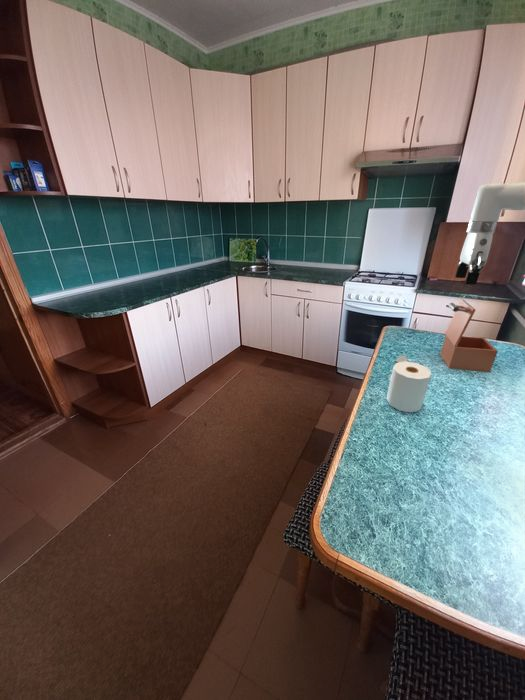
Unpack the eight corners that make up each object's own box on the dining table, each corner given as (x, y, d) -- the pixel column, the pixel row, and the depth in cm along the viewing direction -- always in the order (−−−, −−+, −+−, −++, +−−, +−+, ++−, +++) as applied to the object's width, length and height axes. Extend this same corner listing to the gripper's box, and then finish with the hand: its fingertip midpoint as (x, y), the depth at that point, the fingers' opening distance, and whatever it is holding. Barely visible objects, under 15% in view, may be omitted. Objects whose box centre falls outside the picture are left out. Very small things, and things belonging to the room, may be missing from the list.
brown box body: (477, 357, 117) (484, 337, 113) (489, 372, 107) (498, 350, 103) (439, 354, 120) (445, 334, 116) (448, 368, 110) (455, 347, 106)
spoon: (409, 360, 116) (409, 356, 115) (396, 383, 101) (397, 379, 100) (398, 357, 118) (398, 353, 117) (384, 380, 103) (385, 376, 102)
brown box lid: (463, 299, 109) (448, 297, 109) (475, 309, 99) (459, 306, 99) (446, 334, 116) (432, 331, 116) (456, 346, 106) (441, 343, 106)
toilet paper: (387, 390, 98) (394, 358, 92) (421, 397, 94) (430, 365, 88) (385, 407, 90) (392, 374, 84) (422, 416, 86) (432, 381, 80)
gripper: (507, 229, 85) (487, 287, 92) (483, 225, 100) (467, 275, 107) (478, 229, 86) (461, 286, 94) (458, 225, 101) (445, 275, 109)
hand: (464, 280), depth 101 cm, fingers open, 9 cm apart
